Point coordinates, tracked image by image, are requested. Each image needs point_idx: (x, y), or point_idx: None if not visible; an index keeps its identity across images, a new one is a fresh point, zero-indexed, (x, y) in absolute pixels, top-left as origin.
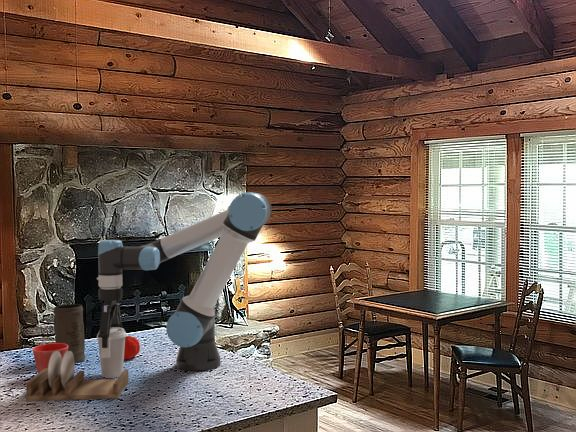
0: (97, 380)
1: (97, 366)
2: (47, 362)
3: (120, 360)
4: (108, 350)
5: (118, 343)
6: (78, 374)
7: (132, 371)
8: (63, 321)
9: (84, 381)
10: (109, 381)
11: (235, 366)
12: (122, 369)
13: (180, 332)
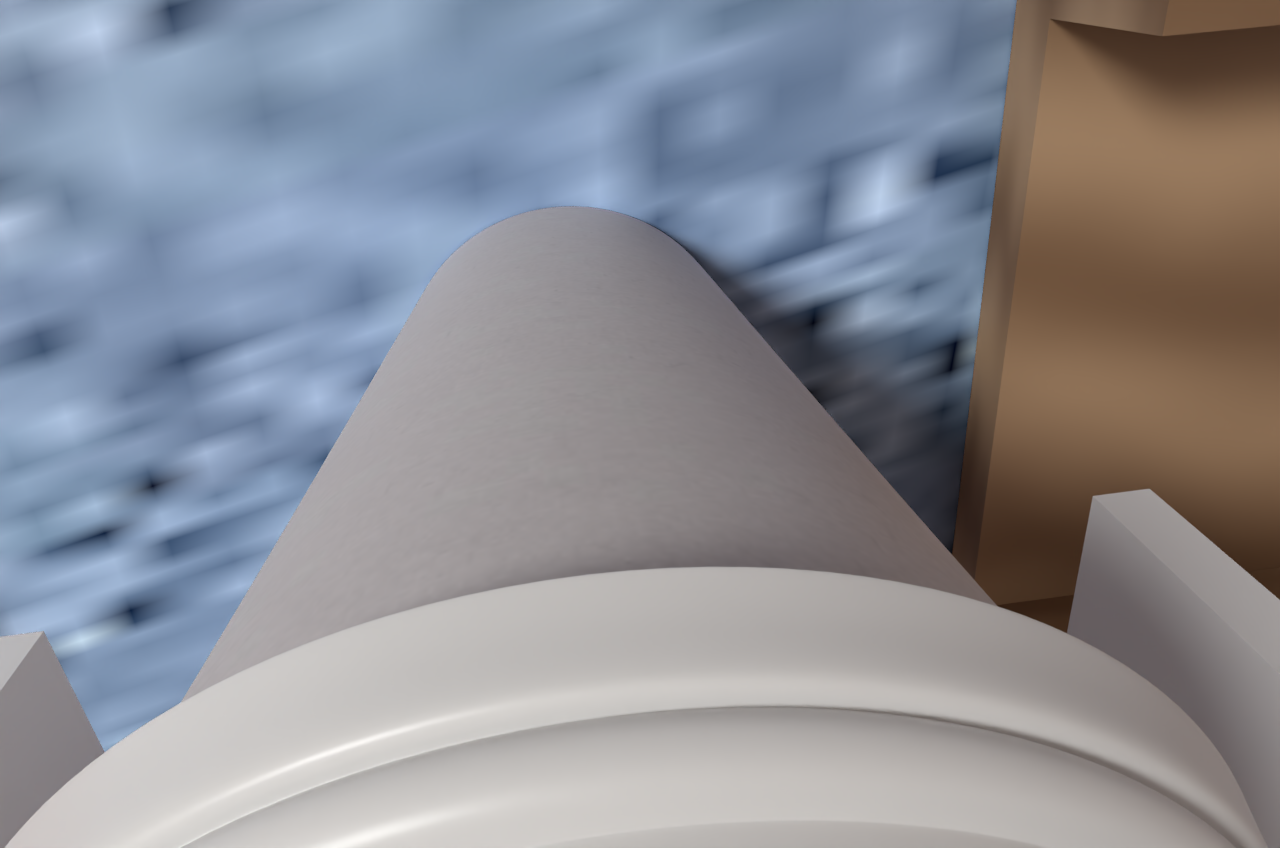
0: (1030, 443)
1: (130, 716)
2: None
3: (712, 305)
4: (1277, 631)
5: (978, 586)
6: None
7: (287, 94)
8: None
9: (1034, 582)
10: (1130, 250)
11: None
12: (587, 227)
13: None
